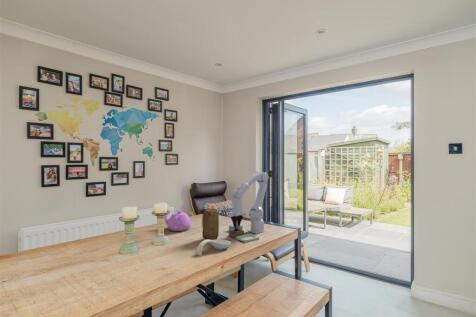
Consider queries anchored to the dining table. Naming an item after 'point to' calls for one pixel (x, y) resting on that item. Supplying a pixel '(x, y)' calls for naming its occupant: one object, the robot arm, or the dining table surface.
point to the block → (210, 224)
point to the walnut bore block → (236, 233)
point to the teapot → (178, 221)
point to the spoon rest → (215, 243)
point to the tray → (247, 238)
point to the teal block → (234, 227)
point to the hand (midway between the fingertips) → (236, 226)
